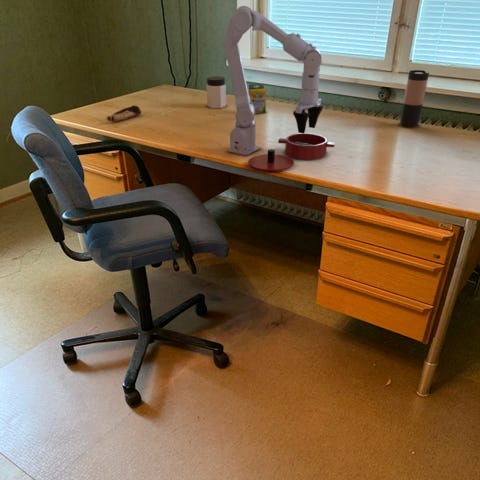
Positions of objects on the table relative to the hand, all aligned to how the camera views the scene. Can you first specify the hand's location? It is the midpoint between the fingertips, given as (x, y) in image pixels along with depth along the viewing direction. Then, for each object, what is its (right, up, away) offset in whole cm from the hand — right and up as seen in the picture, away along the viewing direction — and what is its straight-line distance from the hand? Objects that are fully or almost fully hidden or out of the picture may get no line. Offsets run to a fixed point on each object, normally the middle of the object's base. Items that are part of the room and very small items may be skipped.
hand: (306, 130), depth 173 cm
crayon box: (-16, +26, +47) cm, 56 cm away
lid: (-13, -14, -7) cm, 21 cm away
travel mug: (+46, +13, +30) cm, 57 cm away
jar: (-35, +33, +56) cm, 74 cm away
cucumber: (0, -7, +2) cm, 7 cm away
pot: (0, -7, +2) cm, 8 cm away
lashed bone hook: (-75, +20, +40) cm, 87 cm away
